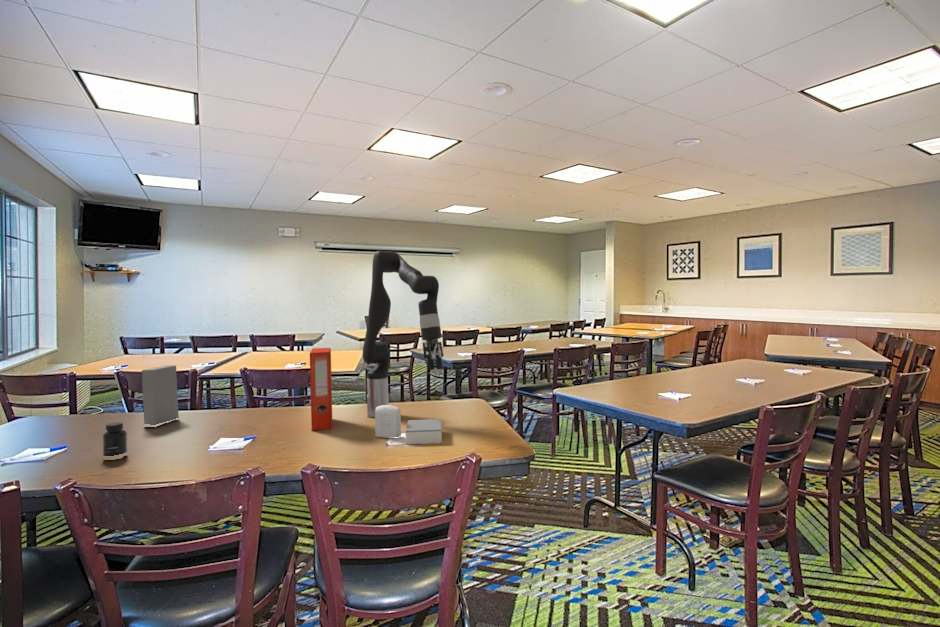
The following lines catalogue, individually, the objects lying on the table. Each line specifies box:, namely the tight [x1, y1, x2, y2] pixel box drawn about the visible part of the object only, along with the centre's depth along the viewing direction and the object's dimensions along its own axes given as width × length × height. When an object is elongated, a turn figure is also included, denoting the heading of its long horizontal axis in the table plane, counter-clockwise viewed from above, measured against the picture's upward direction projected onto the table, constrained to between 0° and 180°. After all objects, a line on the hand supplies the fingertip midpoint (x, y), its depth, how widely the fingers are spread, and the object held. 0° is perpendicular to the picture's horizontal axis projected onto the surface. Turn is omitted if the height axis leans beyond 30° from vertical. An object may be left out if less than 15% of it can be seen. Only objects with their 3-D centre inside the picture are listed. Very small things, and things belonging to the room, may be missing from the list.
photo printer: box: [374, 404, 402, 439], centre depth 186 cm, size 10×4×12 cm, turn 72°
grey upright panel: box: [141, 364, 180, 425], centre depth 213 cm, size 14×6×25 cm, turn 172°
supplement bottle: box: [102, 422, 128, 457], centre depth 168 cm, size 7×7×12 cm
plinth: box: [405, 418, 443, 445], centre depth 184 cm, size 13×15×5 cm
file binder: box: [309, 347, 333, 431], centre depth 205 cm, size 8×17×32 cm, turn 15°
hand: (435, 369), depth 182 cm, fingers open, 8 cm apart
